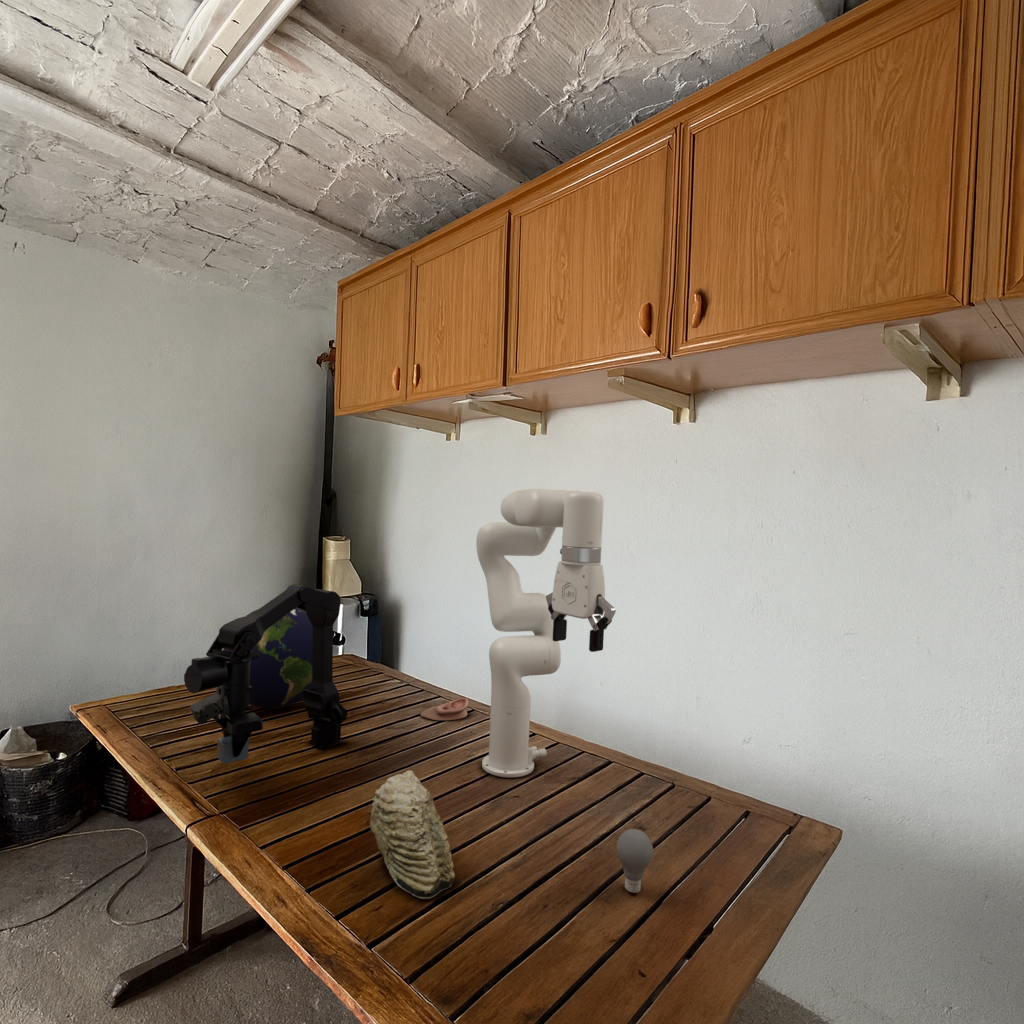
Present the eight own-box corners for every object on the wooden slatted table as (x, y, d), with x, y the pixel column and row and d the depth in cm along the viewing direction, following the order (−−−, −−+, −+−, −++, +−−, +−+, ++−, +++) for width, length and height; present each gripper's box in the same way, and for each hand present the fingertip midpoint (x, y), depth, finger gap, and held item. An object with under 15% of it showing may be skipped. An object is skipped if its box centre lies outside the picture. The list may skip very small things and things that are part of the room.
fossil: (399, 838, 118) (402, 759, 118) (464, 883, 106) (468, 794, 105) (357, 856, 112) (361, 772, 112) (421, 906, 99) (425, 811, 99)
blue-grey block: (217, 757, 138) (217, 738, 138) (241, 752, 141) (242, 733, 141) (222, 764, 134) (223, 744, 134) (247, 758, 138) (248, 739, 138)
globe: (289, 685, 209) (292, 594, 208) (348, 705, 191) (352, 606, 191) (199, 706, 185) (203, 604, 184) (258, 732, 167) (262, 619, 167)
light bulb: (610, 879, 108) (613, 822, 108) (644, 879, 109) (647, 822, 109) (619, 902, 102) (622, 840, 102) (655, 901, 103) (658, 840, 103)
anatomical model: (416, 704, 183) (430, 693, 194) (416, 718, 183) (429, 705, 194) (461, 709, 180) (471, 697, 192) (460, 723, 180) (471, 710, 192)
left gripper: (183, 677, 139) (181, 747, 140) (208, 699, 125) (205, 777, 125) (236, 669, 147) (233, 736, 147) (265, 690, 132) (262, 764, 133)
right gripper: (536, 552, 125) (532, 638, 125) (602, 561, 112) (597, 657, 112) (563, 551, 130) (559, 634, 130) (629, 560, 117) (625, 652, 117)
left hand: (232, 753), depth 138 cm, fingers closed on blue-grey block, 4 cm apart
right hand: (577, 645), depth 121 cm, fingers open, 9 cm apart
